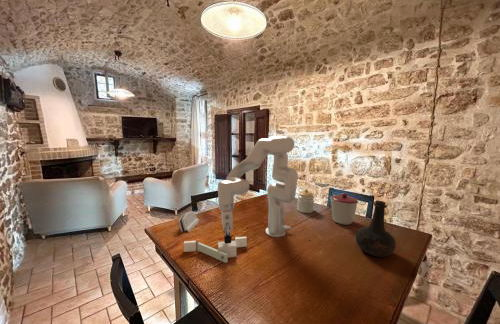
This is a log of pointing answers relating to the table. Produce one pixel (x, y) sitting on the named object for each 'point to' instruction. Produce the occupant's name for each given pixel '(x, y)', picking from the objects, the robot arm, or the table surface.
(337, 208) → the canister
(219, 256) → the door
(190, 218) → the hinge
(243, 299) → the table surface
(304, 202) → the jar
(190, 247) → the notched cream block
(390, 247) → the glass bottle
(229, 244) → the block
